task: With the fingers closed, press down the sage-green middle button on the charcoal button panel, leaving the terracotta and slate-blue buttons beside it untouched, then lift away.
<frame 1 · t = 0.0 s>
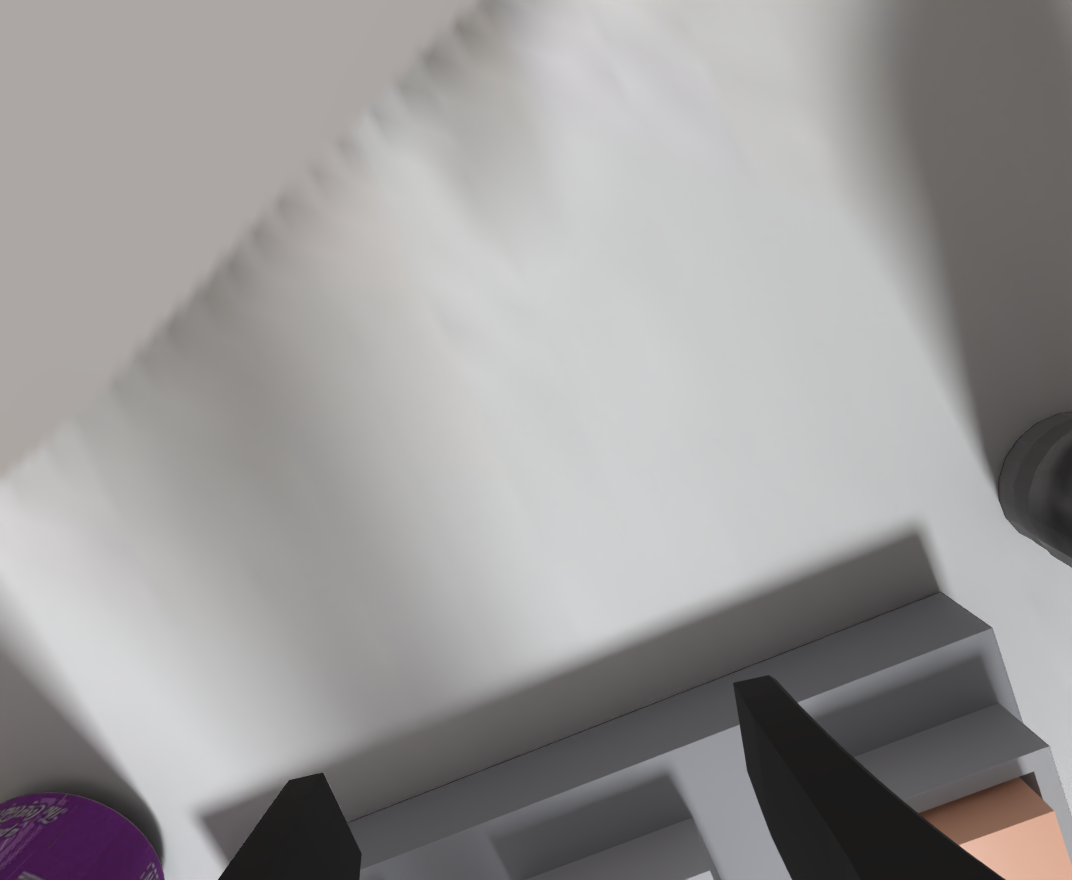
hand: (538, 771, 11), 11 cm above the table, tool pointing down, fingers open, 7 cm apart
button panel: (629, 858, 24), on the table
beverage can: (82, 856, 24), on the table
beverage cup: (1063, 477, 21), on the table
terracotta button: (974, 867, 19), point 4 cm above the table, slide at 0.0 cm
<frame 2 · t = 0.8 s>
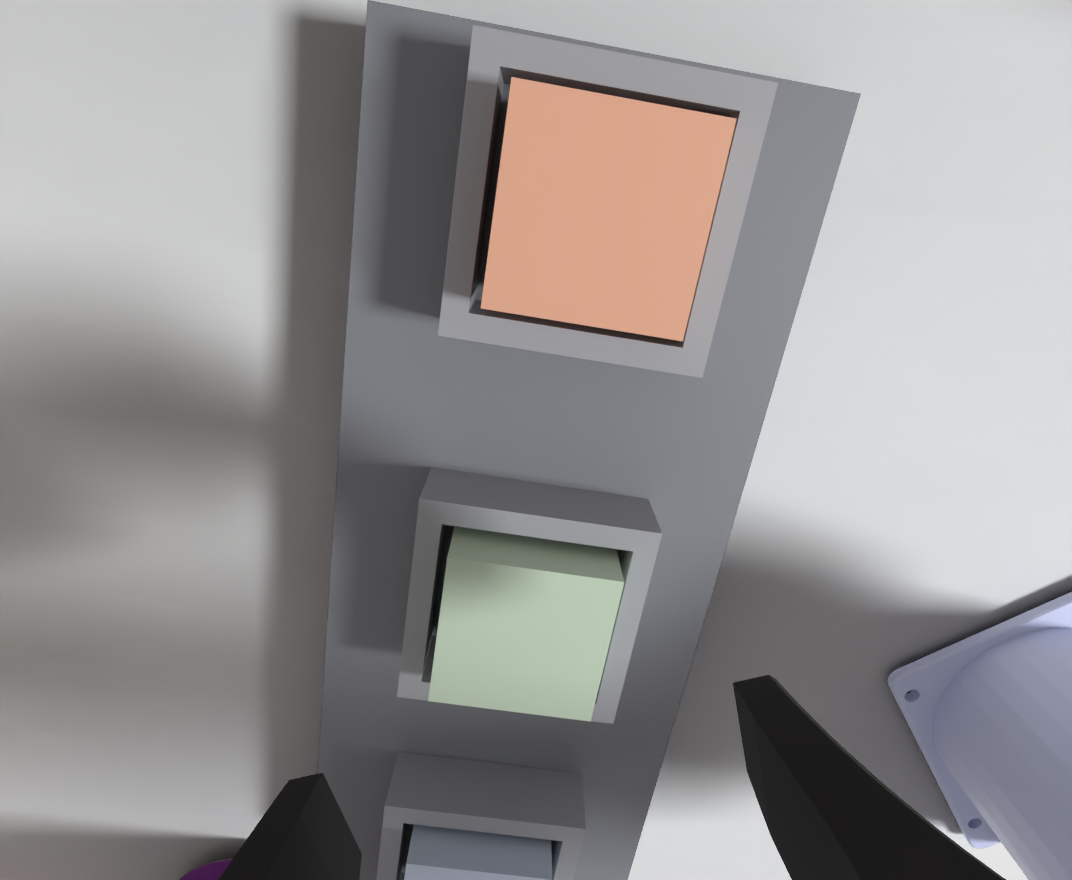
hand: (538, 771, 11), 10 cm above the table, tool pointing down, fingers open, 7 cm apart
button panel: (524, 536, 21), on the table
terracotta button: (597, 216, 14), point 4 cm above the table, slide at 0.0 cm
sage button: (523, 619, 17), point 4 cm above the table, slide at 0.0 cm
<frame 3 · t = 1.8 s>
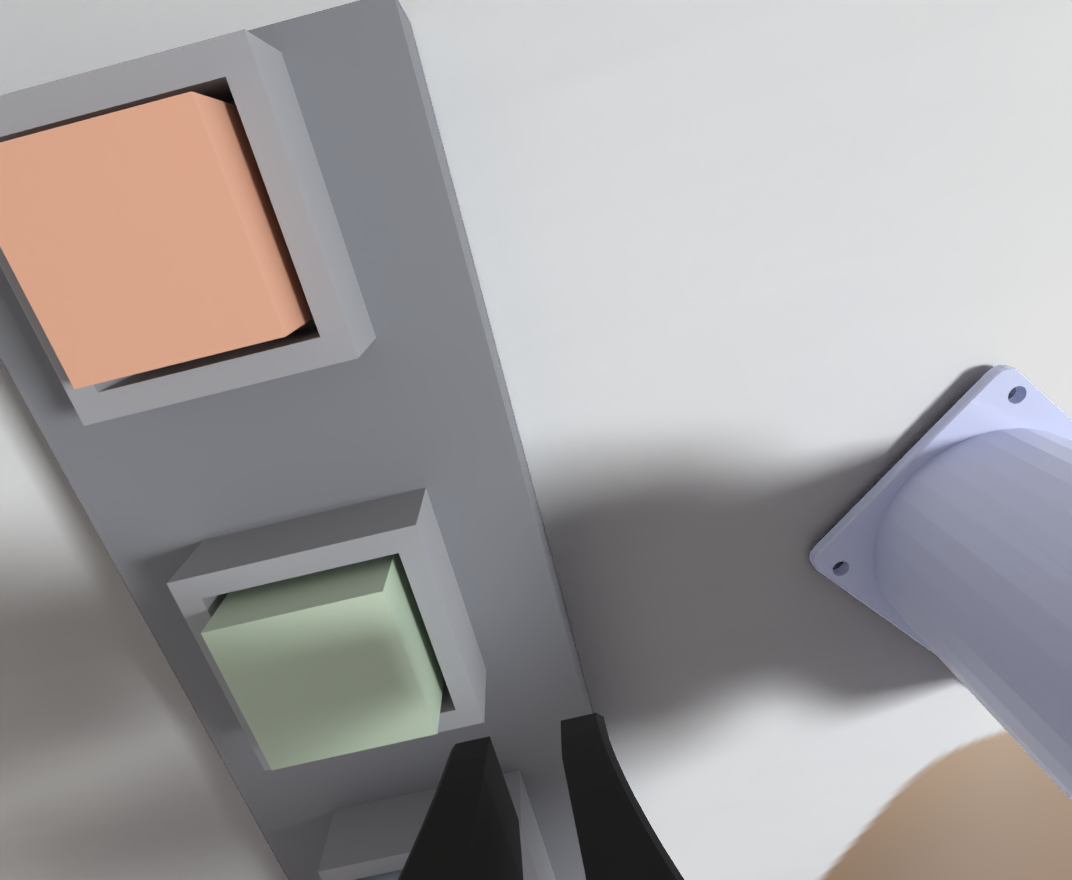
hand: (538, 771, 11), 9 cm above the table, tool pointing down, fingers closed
button panel: (369, 560, 20), on the table
terracotta button: (156, 246, 13), point 5 cm above the table, slide at 0.0 cm
sage button: (334, 657, 16), point 5 cm above the table, slide at 0.0 cm
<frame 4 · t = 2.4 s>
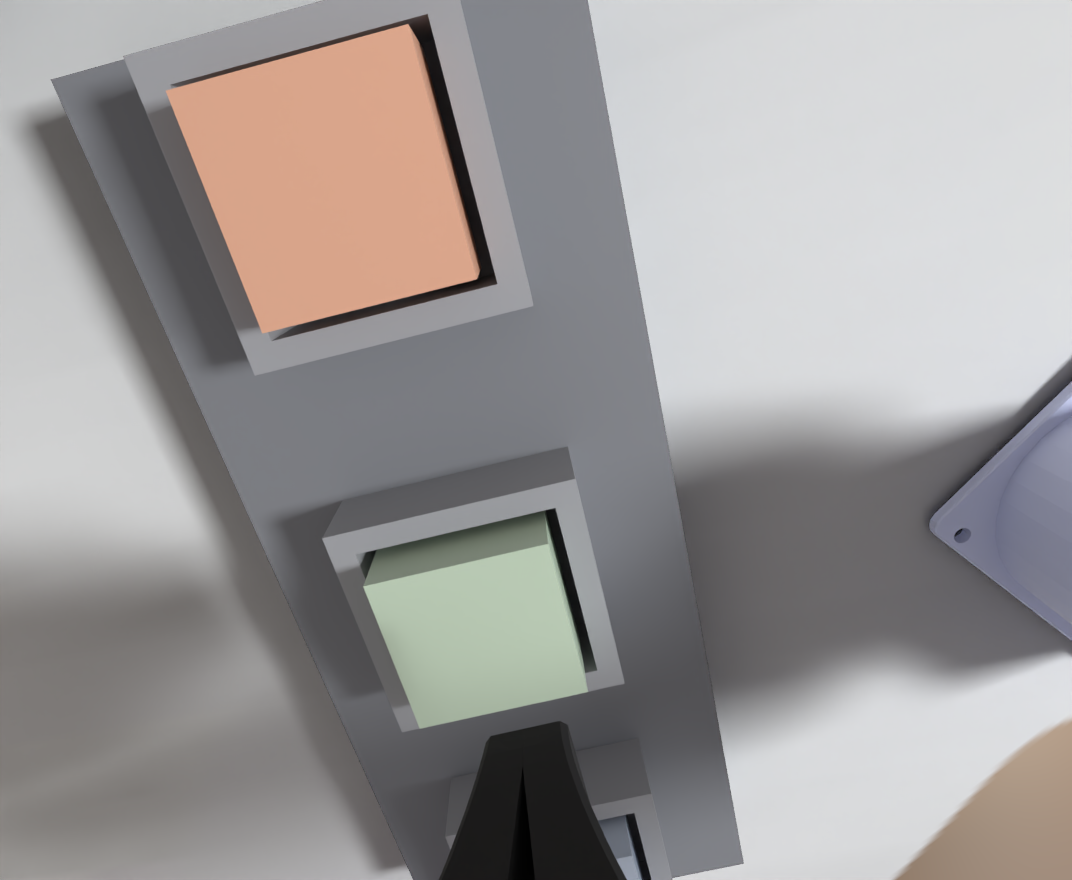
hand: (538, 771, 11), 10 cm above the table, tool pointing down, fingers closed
button panel: (487, 526, 20), on the table
terracotta button: (343, 190, 12), point 4 cm above the table, slide at 0.0 cm
sage button: (482, 615, 16), point 4 cm above the table, slide at 0.0 cm
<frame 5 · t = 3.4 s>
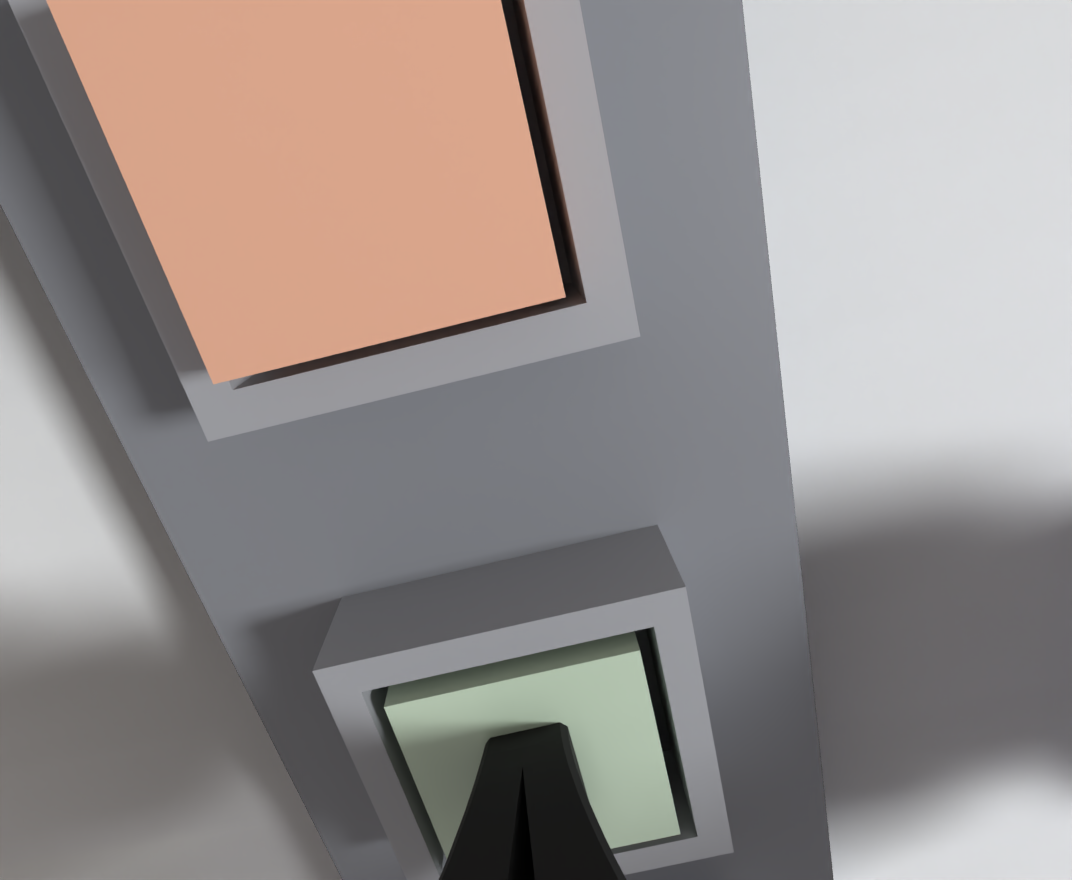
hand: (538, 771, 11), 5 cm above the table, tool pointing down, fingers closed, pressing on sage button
button panel: (531, 611, 15), on the table
terracotta button: (346, 151, 8), point 4 cm above the table, slide at 0.0 cm
sage button: (538, 729, 12), point 4 cm above the table, slide at 0.9 cm, touching gripper
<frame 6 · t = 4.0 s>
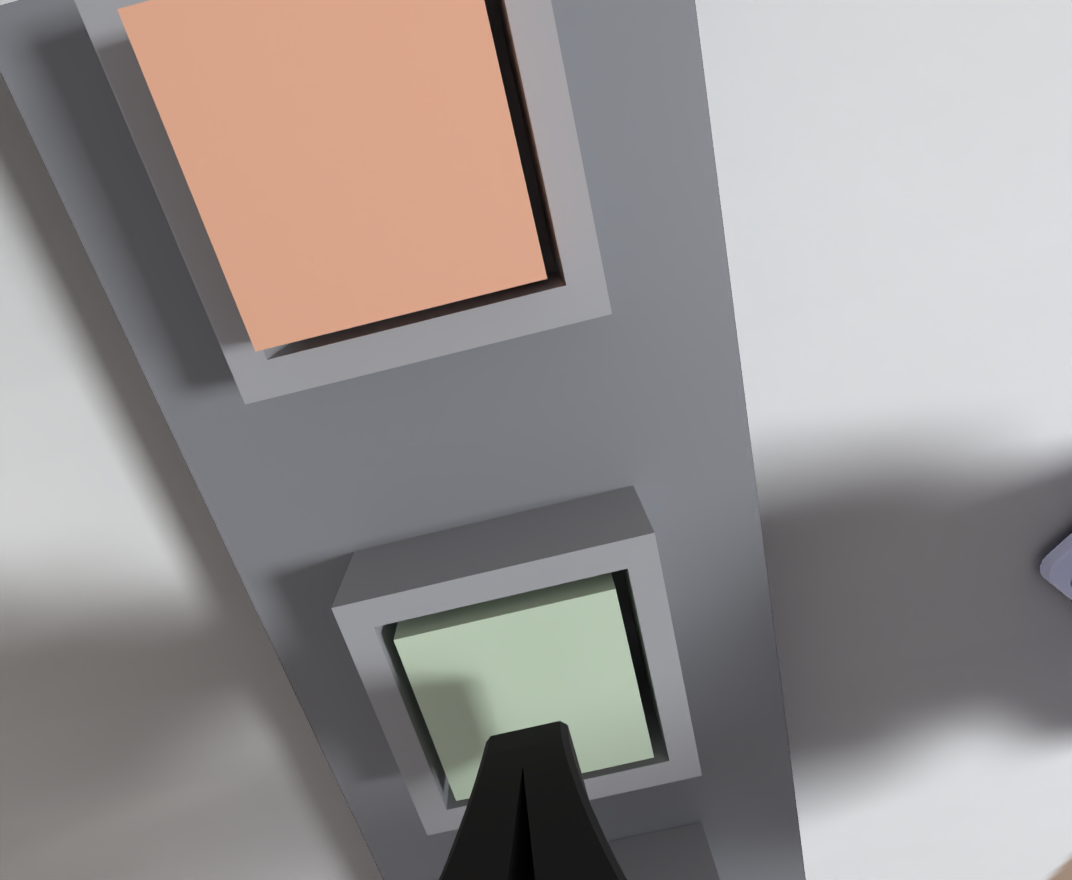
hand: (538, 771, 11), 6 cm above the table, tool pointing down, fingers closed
button panel: (523, 572, 17), on the table
terracotta button: (364, 158, 9), point 4 cm above the table, slide at 0.0 cm
sage button: (528, 666, 14), point 4 cm above the table, slide at 0.9 cm
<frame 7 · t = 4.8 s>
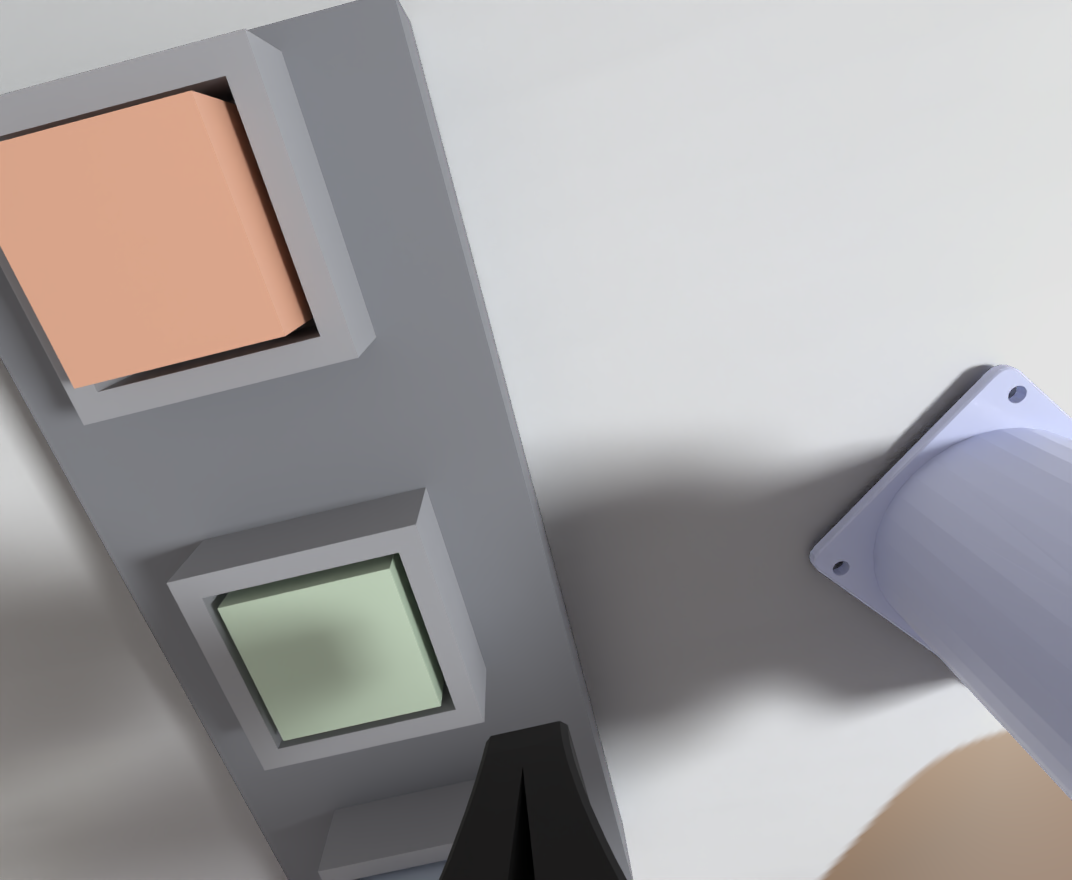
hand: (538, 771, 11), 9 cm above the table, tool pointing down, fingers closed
button panel: (369, 560, 20), on the table
terracotta button: (156, 245, 13), point 4 cm above the table, slide at 0.0 cm
sage button: (343, 633, 17), point 4 cm above the table, slide at 0.9 cm
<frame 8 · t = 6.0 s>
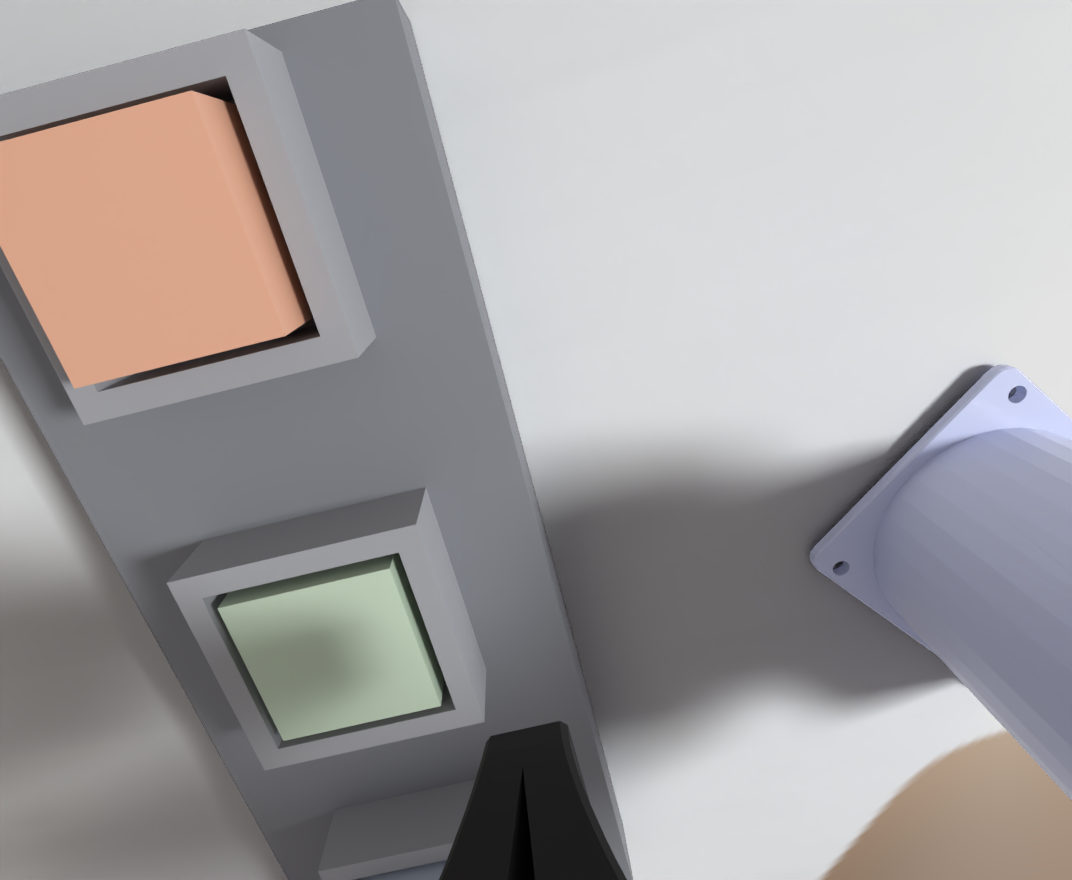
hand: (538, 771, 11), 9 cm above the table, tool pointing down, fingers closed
button panel: (369, 560, 20), on the table
terracotta button: (156, 245, 13), point 4 cm above the table, slide at 0.0 cm
sage button: (343, 633, 17), point 4 cm above the table, slide at 0.9 cm
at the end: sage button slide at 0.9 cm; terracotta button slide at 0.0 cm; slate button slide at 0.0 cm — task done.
